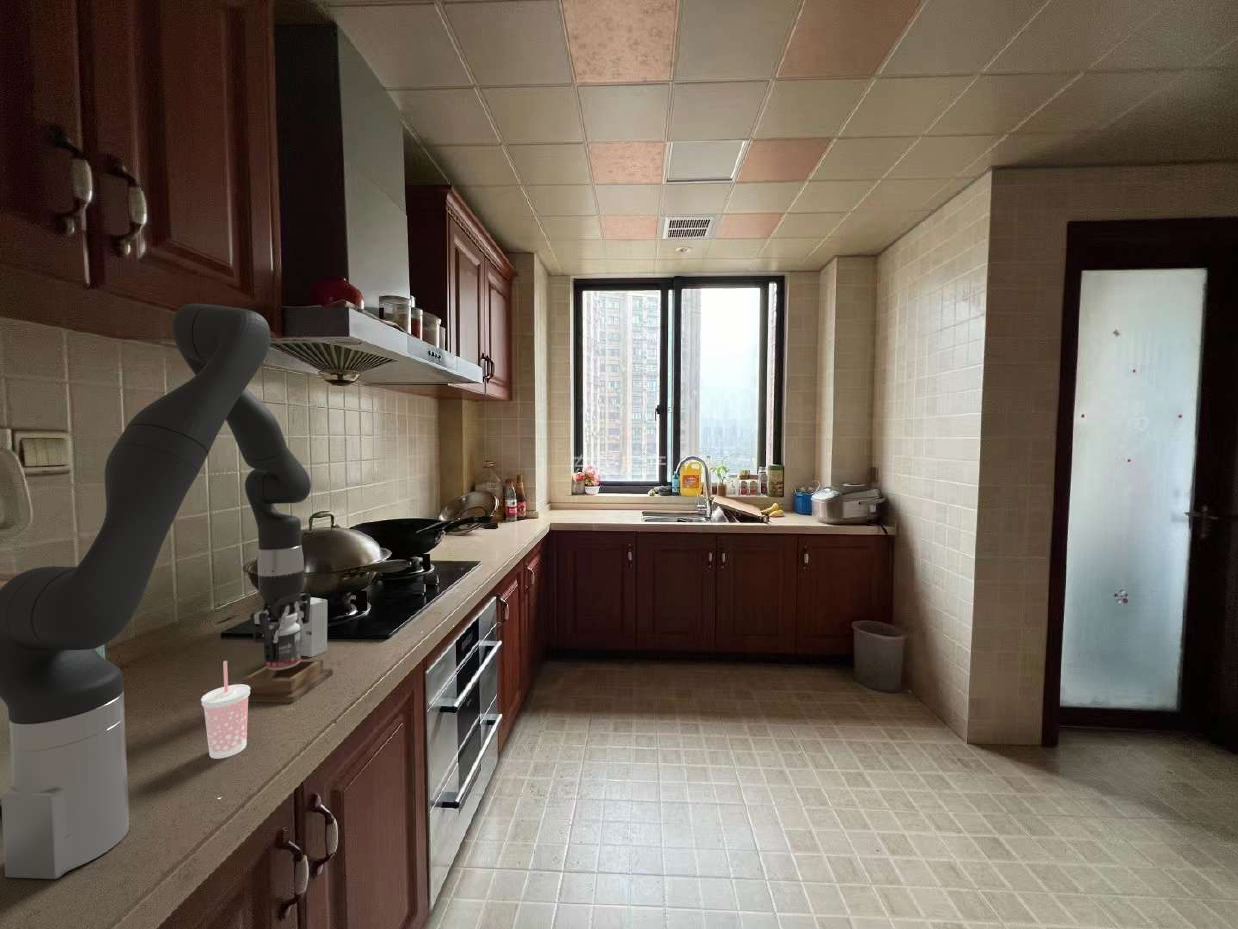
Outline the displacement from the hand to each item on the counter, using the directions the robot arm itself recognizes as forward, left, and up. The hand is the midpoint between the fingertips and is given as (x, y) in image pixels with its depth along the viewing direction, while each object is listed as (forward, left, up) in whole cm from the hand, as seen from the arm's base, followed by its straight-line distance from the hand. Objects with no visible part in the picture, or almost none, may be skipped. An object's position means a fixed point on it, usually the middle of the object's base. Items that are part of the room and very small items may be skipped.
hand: (284, 654), depth 103 cm
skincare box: (+17, +6, -7) cm, 19 cm away
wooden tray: (0, 0, -6) cm, 6 cm away
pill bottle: (0, 0, -2) cm, 2 cm away
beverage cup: (-21, -6, -7) cm, 23 cm away
